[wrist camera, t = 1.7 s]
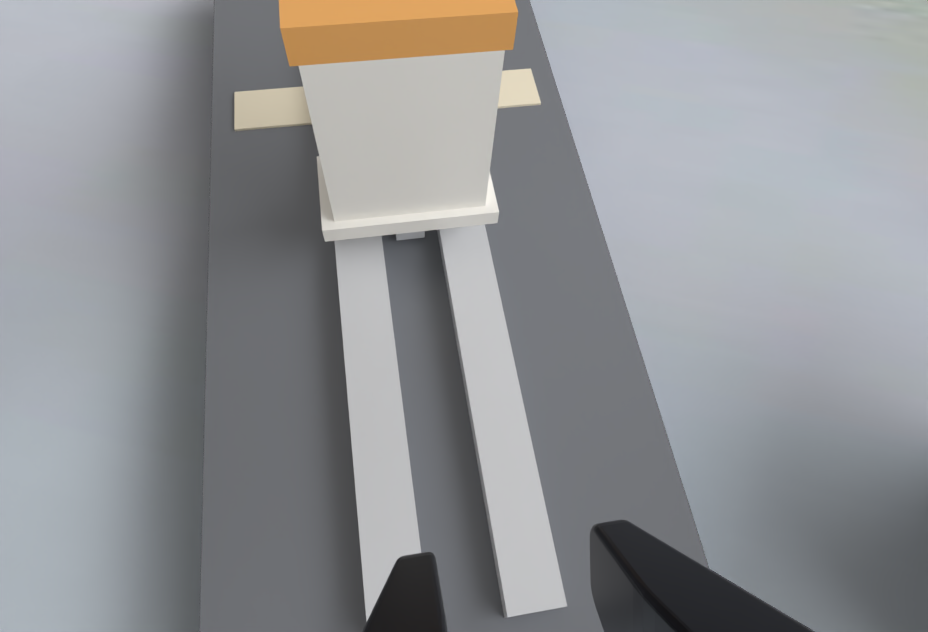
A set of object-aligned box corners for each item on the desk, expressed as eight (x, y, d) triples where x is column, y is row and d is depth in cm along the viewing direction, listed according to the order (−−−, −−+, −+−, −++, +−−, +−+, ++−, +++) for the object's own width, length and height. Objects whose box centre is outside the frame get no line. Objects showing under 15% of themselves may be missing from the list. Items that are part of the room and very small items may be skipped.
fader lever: (492, 251, 22) (530, 20, 14) (332, 269, 21) (270, 38, 13) (478, 184, 23) (504, -63, 15) (326, 199, 23) (267, -51, 15)
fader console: (691, 621, 19) (737, 618, 16) (226, 709, 18) (186, 723, 15) (506, -9, 33) (513, -73, 30) (230, 8, 31) (209, -57, 28)
